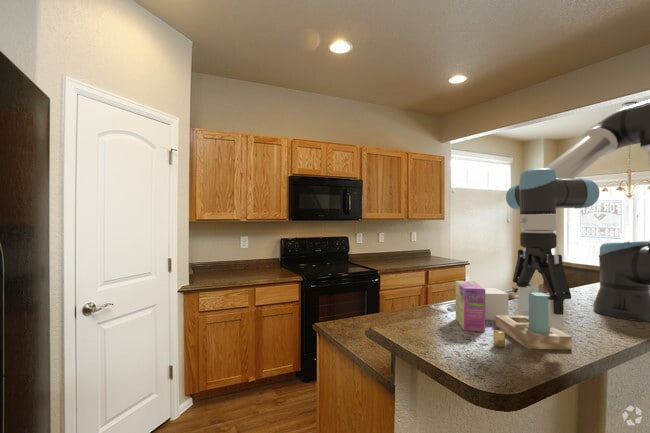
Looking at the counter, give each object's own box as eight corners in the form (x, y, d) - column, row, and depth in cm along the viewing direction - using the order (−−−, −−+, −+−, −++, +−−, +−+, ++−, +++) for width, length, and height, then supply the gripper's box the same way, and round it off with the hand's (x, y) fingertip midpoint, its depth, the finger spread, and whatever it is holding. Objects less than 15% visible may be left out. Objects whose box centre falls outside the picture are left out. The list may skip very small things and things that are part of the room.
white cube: (495, 312, 103) (495, 288, 103) (508, 320, 95) (508, 293, 95) (470, 312, 104) (470, 287, 104) (481, 320, 96) (481, 293, 96)
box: (486, 332, 86) (485, 288, 86) (463, 330, 87) (463, 287, 87) (475, 319, 96) (474, 281, 96) (455, 318, 97) (455, 280, 97)
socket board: (531, 326, 90) (531, 315, 90) (571, 349, 74) (571, 336, 74) (495, 325, 91) (495, 315, 91) (527, 348, 75) (527, 335, 75)
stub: (502, 344, 77) (501, 330, 77) (507, 348, 75) (506, 333, 75) (491, 344, 77) (491, 330, 77) (496, 348, 75) (496, 333, 75)
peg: (541, 339, 80) (541, 292, 80) (549, 345, 77) (550, 296, 76) (528, 339, 80) (528, 292, 80) (536, 344, 77) (536, 295, 77)
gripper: (498, 230, 91) (499, 305, 91) (554, 234, 67) (555, 336, 67) (525, 230, 90) (526, 305, 90) (591, 234, 66) (592, 337, 66)
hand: (538, 319), depth 78 cm, fingers open, 12 cm apart
